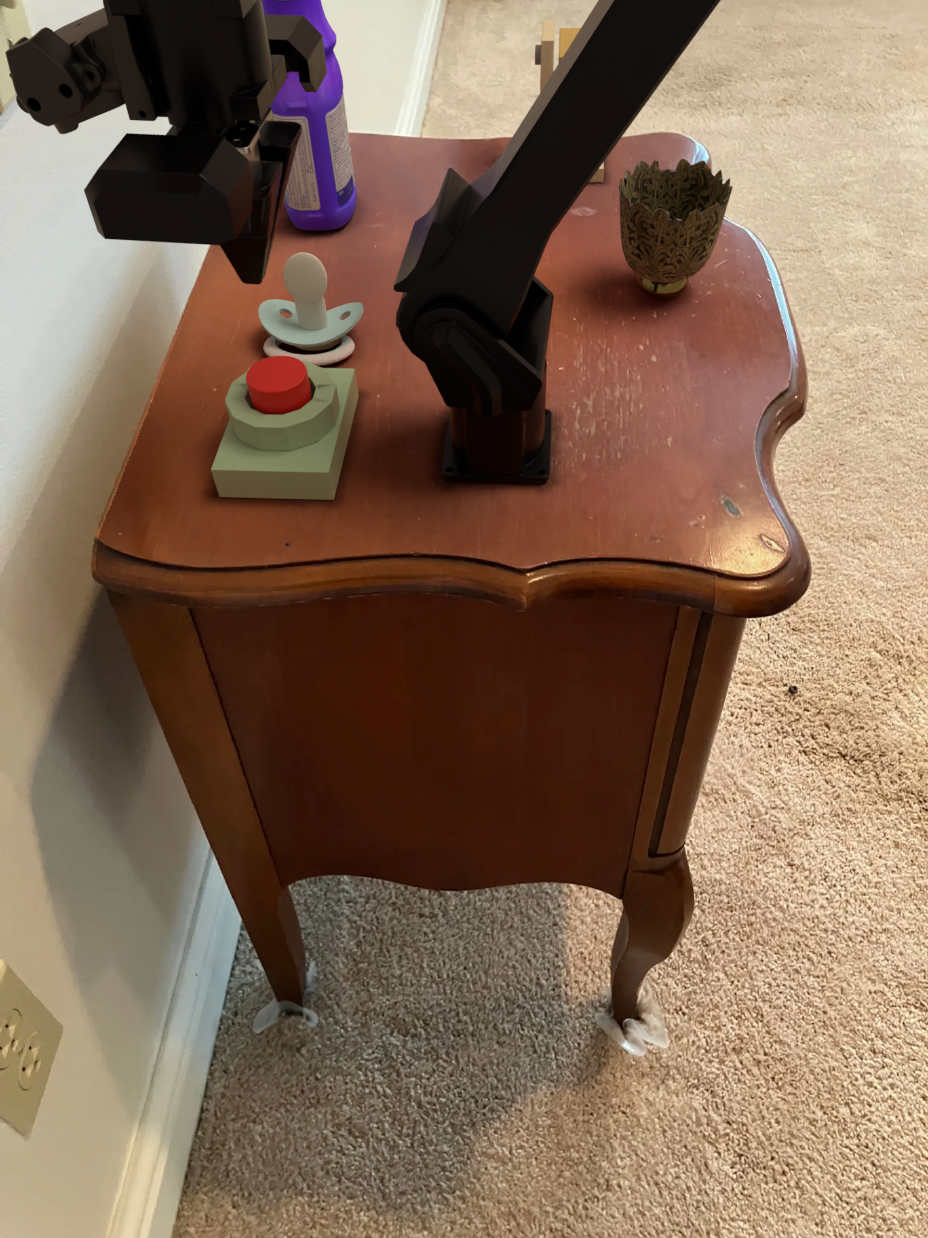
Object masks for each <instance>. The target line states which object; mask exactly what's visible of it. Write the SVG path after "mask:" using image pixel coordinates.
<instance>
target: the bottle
mask: <svg viewBox="0 0 928 1238" xmlns="http://www.w3.org/2000/svg"><path fill="white" fill-rule="evenodd" d="M262 3H263V9H264V14H266V15H298V16H304V17H305V18H306V19H307V20H308V21H309V22H310V23H311V24H312V25H313V26H314V27H315V28H316V29H317V30H318V31H319V32H320V33H321V34H322V36H323V44H324V52H325V60H326V69H327V74H326V76H325V77H324V79H323V81H322V83H321V85H320V87H319V88H318V90H317V92H305V90H304V89H303V87H302V85H301V84H300V81H299V74H298V72H288V73H287V79H286V81H285V83H284V84H283V86H282V87H281V89H280V91H279V92H278V94H277V96H276V97H275V99H274V101H273V102H272V104H271V106H270V108H272V113H273V119H274V121H292V122H297V123H299V124H301V127H302V132H301V136H300V138H299V141H298V144H297V148H296V152H295V156H294V160H293V164H292V168H291V172H290V176H289V180H288V183H287V187H286V191H285V195H284V205H285V209H286V212H287V215H288V217H289V220H290V222H291V223H292V224H293V225H294V227H295V228H297V229H299V230H304V231H332V230H338V229H339V228H340V229H341V228H342V227H344V226H345V225H346V224H348V223H349V222H350V220H351V218H352V217H353V215H354V213H355V210H356V205H357V197H358V196H357V195H358V194H357V193H358V191H357V183H356V179H355V172H354V171H355V170H354V164H353V157H352V151H351V142H350V134H349V127H348V119H347V112H346V103H345V94H344V80H343V75H342V70H341V65H340V63H339V60H338V58H337V57H336V54H335V51H334V49H335V48H336V44H337V34H336V32H335V30H333V28H332V26H331V25H330V23H329V20H328V19H327V17H326V14H325V11H324V7H323V4H322V0H262Z"/></svg>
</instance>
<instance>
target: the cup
mask: <svg viewBox="0 0 928 1238" xmlns="http://www.w3.org/2000/svg"><path fill="white" fill-rule="evenodd" d="M659 165H660V164H659V160H658V159H654V160H653V161H652V163H651V164H650V165H649V164H648V163H647V162H646V161H644V160H640V161H639V162H638V163H637V164H636V166H635V167H634V170H633V173H631V171H630V169H629V168H627V169H626V170H625V172H624V177H623V178H622V177H620V179H619V185H618V193H619V226H620V227H619V228H620V229H619V230H620V242H621V243H620V244H621V248H622V253H623V257H624V259H625V261H626V263H627V265H628V267H629V268H630V269H631V270H632V271H633V272H634V273H635V274H636V275H637V276H636V284H637V287H638V289H639V291H640V292H641V293H642V294H643V295H644V296H646V297H648V298H649V299H654V300H660V301H668V300H673V299H675V298H677V297H680V296H681V295H682V294H683V293H684V292H685V290H686V289H687V288H688V285H689V278H692V277H693V276H695V275H696V274H697V273H699V272H701V270H702V269H703V268H704V267H705V265H706V264H707V262H708V261H709V259H711V255H712V254H713V251H714V249H715V246H716V244H717V241H718V238H719V234H720V231H721V228H722V225H723V222H724V218H725V215H726V212H727V207H728V205H729V202H730V198H731V195H732V191H733V185H731V178H730V177H729V178H728V179H726V180H725V182H723V181H724V178H723V171H722V169H720V170H718V171H717V172H716V173H715V175H714V174H713V170H712V169H711V167H709V165H708V164H707V161H705V160H699V161H698V162H696V163H693V164H690V161H689V160H687V159H685V158H680V159H679V161H678V163H677V165H676V168H675V169H672V170H671V169H669V168H666V169H661V168H660V167H659Z"/></svg>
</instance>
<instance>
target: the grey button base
mask: <svg viewBox="0 0 928 1238" xmlns="http://www.w3.org/2000/svg"><path fill="white" fill-rule="evenodd" d="M302 362H303V363H304V365H305V366H306V369H307V373H308V378H309V383H310V388H311V398H310V400H309V402H308V403H307V404H306V405H305V406H303V407H302V408H301V409H299V410H296V411H293V412H289V413H286V414H283V415H271V414H263V413H261V412H259V411H258V410H256V409H255V408H254V406H253V404H252V401H251V398H250V394H249V390H248V386H247V382H246V374H247V372H248V370H249V368H250V367H251V366H248V368H247V370H246V371H245V372H244V373H243V374H241V375H240V376H239V377H238V378H236V379H234V380H233V381H232V382H231V383H230V386H229V388H228V391H227V393H226V396H225V399H224V405H225V407H226V411H227V415H228V418H229V419H228V422H227V425H226V428H225V430H224V433H223V435H222V438H221V441H220V443H219V446H218V448H217V451H216V454H215V456H214V459H213V462H212V465H211V468H210V472H211V475H212V478H213V481H214V484H215V487H216V491H217V494H218V497H219V498H237V499H238V498H239V499H240V498H241V499H243V498H244V499H278V500H279V499H281V500H316V501H317V500H322V501H334V500H335V496H336V493H337V489H338V485H339V481H340V477H341V472H342V467H343V463H344V459H345V454H346V451H347V447H348V443H349V439H350V435H351V430H352V425H353V421H354V417H355V413H356V409H357V405H358V401H359V396H360V394H359V387H358V382H357V376H356V369H355V368H352V367H351V368H350V367H349V368H346V367H321V366H316V365H314V364H312V363H309V362H307V361H302Z"/></svg>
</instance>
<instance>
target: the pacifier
mask: <svg viewBox="0 0 928 1238" xmlns="http://www.w3.org/2000/svg"><path fill="white" fill-rule="evenodd" d="M282 279H283V284H284V286H285V289H286V291H287V292H288V294H289V295H290V296H291V298H293V301H294V302H293V301H290V300H285V299H276V298H275V299H274V298H273V299H267V300H265V301H263V302H261V304H260V305H259V307H258V310H257V311H258V312H257V313H258V317H259V321H260V324H261V325H262V328H263V329H264V330H265V331H266V333H268V334H269V337H268V338H267V339H266V340H265V342H264V343H263V351H264V353H265V355H266V356H267V357H272V356H290V357H294V358H297V359H299V360H300V361H307V362H309V363H312V364H314V365H316V366H319V367H321V366H326V365H327V366H328V365H332V364H336V363H338V362H340V361H343V360H345V359H347V358H348V357H350V356H351V355H352V354H353V352H354V350H355V342H354V341H353V339H352V338H351V337H350V336H348V335H347V334H348V333H350V331H351V330H352V329H353V328H354V327H355V326H356V325H357V324H358V323H359V322H360V321H361V318H362V317H363V314H364V305H363V303H362V302H359V301H356V302H355V301H353V302H349V303H344V304H342V305H339V306H338V305H337V306H336V307H333V308H331V309H328V310H327V306H326V302H325V301H326V300H325V293H326V291H327V287H328V274H327V271H326V268H325V266H324V264H323V263H322V261H321V260H320V259H319V258H318V257H316V256H315V255H314V254H313V253H309V252H304V251H303V252H301V251H300V252H297V253H294V254H292V255H291V256H290V257H289V258H288V259H287V260H286V261H285V263H284V265H283V269H282ZM283 313H287V314H288V315H291V316H290V317H285V316H284V315H282V314H283ZM344 317H346V318H344ZM343 318H344V319H343ZM282 343H284V344H287V345H289V346H293V347H295V348H296V349H300V350H303V351H316V352H317V351H324V350H329V349H331V348H333V347H336V346H337V345H338V344H340V345H339V346H338V347H336V348H335V349H333V350H330V351H327V352H322V353H315V354H300V353H293V352H290V351H289V352H288V351H286V350H283V349H282V348H280V347H279V346H280V345H282Z"/></svg>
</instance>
